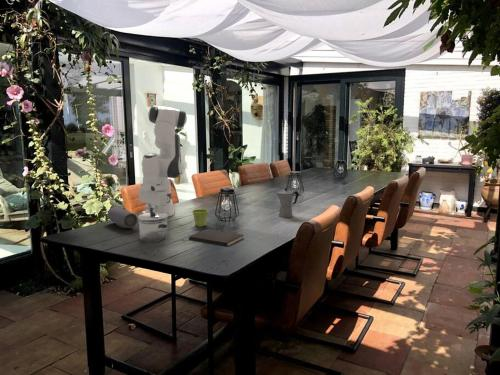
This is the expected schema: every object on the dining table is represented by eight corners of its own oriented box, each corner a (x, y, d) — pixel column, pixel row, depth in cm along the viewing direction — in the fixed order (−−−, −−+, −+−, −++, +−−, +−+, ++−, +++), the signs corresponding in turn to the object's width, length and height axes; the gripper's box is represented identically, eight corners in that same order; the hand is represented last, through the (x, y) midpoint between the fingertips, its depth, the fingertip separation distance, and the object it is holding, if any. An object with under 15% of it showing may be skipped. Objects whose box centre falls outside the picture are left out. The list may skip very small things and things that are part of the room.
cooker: (130, 236, 212) (129, 217, 210) (154, 231, 222) (153, 213, 221) (153, 244, 198) (152, 224, 196) (177, 238, 208) (176, 219, 207)
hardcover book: (207, 233, 221) (207, 229, 220) (243, 239, 210) (243, 234, 209) (189, 240, 207) (188, 236, 207) (227, 247, 196) (227, 242, 196)
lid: (133, 216, 209) (132, 207, 208) (158, 212, 218) (158, 203, 218) (147, 222, 198) (146, 212, 197) (172, 217, 208) (172, 208, 207)
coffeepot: (278, 218, 253) (278, 189, 250) (273, 214, 262) (273, 187, 259) (301, 216, 257) (301, 188, 254) (295, 213, 266) (295, 186, 263)
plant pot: (193, 228, 229) (193, 213, 228) (191, 223, 238) (191, 209, 237) (210, 226, 232) (209, 212, 230) (207, 222, 241) (207, 208, 239)
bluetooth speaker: (139, 228, 228) (138, 211, 226) (123, 231, 222) (122, 213, 220) (122, 221, 245) (121, 205, 243) (106, 223, 239) (105, 207, 237)
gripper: (135, 184, 210) (136, 210, 213) (157, 188, 197) (158, 216, 199) (145, 182, 215) (146, 208, 217) (168, 187, 201) (169, 214, 203)
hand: (152, 212), depth 208 cm, fingers closed on lid, 3 cm apart
